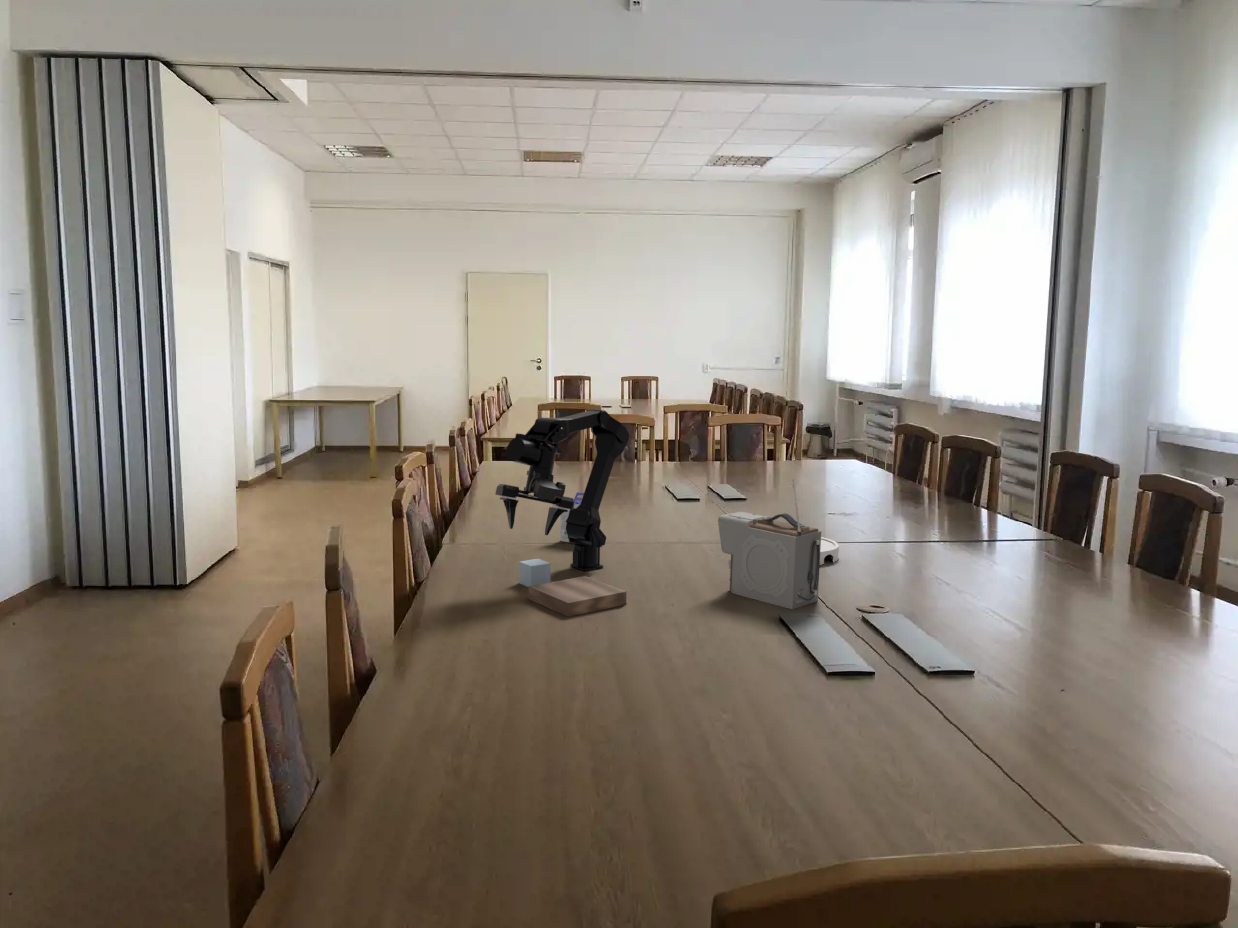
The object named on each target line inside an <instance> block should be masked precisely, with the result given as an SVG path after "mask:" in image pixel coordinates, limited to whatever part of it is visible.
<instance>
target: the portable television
mask: <svg viewBox="0 0 1238 928" xmlns="http://www.w3.org/2000/svg"><path fill="white" fill-rule="evenodd" d="M791 481H792V486H793V493H794V494H793V495H794V504H795V514H796V515H795V516H796V520H795V519H794V517H792V516H791V515H790V514H788V513H785V512H784V513H780V514H776V515H774V516H772V517H771V516H767V515H761V514H756V513H751V512H745V511H736V512H731V513H726V514H722V515H721V514H720V515H719V516H718V518H717V523H718V524H717V525H718V534H719V539H720V546H721V548H720V549H721V551H722V553H724V554H727V555H730V559H728V561H727V563H728V569H730V571H729V572H730V574H729V592H731V593H732V594H734V595H739V596H741V597H745V598H750V599H753V600H757V601H758V602H759V601H760V602H764V603H767V604H771V605H774V606H778V607H782V608H786V609H790V610H795V609H798V608H801V607H804V606H807V605H809V604H813V603H816V602H818V601H819V581H820V568H821V567H820V566H821V565H820V547H821V537H822V531H821V530H819V528H815V527H811V526H807V525H804V524H802V523H800V518H799V517H800V516H799V509H798V502H797V496H796V487H795V478H792V479H791ZM780 518H782V519H784V520H785V521H786V522H785V521H779V520H777V519H780Z"/></svg>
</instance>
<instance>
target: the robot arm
mask: <svg viewBox="0 0 1238 928" xmlns="http://www.w3.org/2000/svg"><path fill="white" fill-rule="evenodd" d="M587 429H590V432H591V433H592V435H594V437H595V439H594V447H595V450H596V456H595V457H594V458H595V459H594V462H593V463H592V464H593V465H592V468H591V471H590V474H589V478H588V480H587V482H586V486H585V489H584V492H583V493H584V495H583V496H582V497H581V498H582V501H581V504H580V505H579V506H578V507H577V508H574V504H575V502H574V497H569V496H565V491H566V486H567V485H566V483H565V482H562V481H557V482H554V478H555V477H554V474H553V472H554V467H555V466H554V465H555V462H556V456H557V455H562V454H563V451H562V448H560V446H559V443H560V442H562V441H564V440H566V439H568V438H569V436H570V435H571V434H573V433H576V432H579V431H583V430H587ZM629 433H630V432H628V428H627V427H626V426H625V425H623V424H622V423H621V422H620V421H619V420H617V419H615V418H613V416H611V415H610V414H609V413H608V411H606V410H605V409H599V408H597V409H595V408H591V409H589V410H587V411H583V412H579V413H575V414H572V415H571V414H570V415H567V416H563V417H538V418H536V419H535V420H534V423H533V425H532V426H531V427H530V429H528V431H527V432H526V433H525V434H523V433H518V432H517V433H515V437H514V438H512V440H510V441H509V443H508V444H507V446H506V447H505V449H506V450H505V452H506V453H505V454H506V457H507V459H508V460H509V461H510V462H514V463H517V464H520V465H521V464H522V465H525V466H529V469H528V470H527V471H526V476H527V479H526V483H525V487H523V490H521V489H520V487H519V486H516V485H510V484H505V483H499V484H498V485H497V486H496V489H495V495H496V496H501V497H499V500H501V501H503V504H504V507H505V511H506V516H507V521H508V526H509V527H508V528H509V529H511V530H512V529H513V528H514V524H515V517H516V510H517V506H518V503H519V500H518V499H517V498H521V499H527V500H531V501H536V502H542V503H546V504H551V505H552V506H549V508H548V511H547V518H546V522H545V523H546V524H545V528H544V536H549V534H550V532H551V530H552V529H553V527H554V525H555V523H556V522H557V520H558V519H559V518H560V517H561V514H562V513H563V512H568V510H566V509H570V511H569V516H568V518H567V520H566V523H567V524H566V531H567V535H568V539H569V542H568V543H569V544H573V550H572V563H570V564H569V565H570V567H572V568H575V569H578V570H581V571H584V572H585V571H591V570H595V569H601V568H604V565H603V564H601V548H602V547H603V546H605V545H606V542H607V541H606V540H607V536H606V535H605V533H604V532H603V531H602V530H601V528H600V527H601V523H602V520H601V516H600V511H599V510H600V507H601V503H602V501H603V497H604V495H605V491H606V487H607V486H608V485H607V484H608V482H609V479H610V475H611V472H612V470H613V467H614V462H615V460H616V459H617V458H618V457H620V455H622V453H623V452H625V449H626V446H627V444H628V442H629V438H630V434H629Z"/></svg>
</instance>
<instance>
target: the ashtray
mask: <svg viewBox="0 0 1238 928" xmlns="http://www.w3.org/2000/svg"><path fill="white" fill-rule="evenodd" d="M839 547H840V546H839V543H838V542H837V541H835V540H833V539H831V538H826V537H823V536H821V547H820V566H823V565H822V564H824V565H825V558H826V556H829V558H830V560H831V561H833V562H832V563H836V562H837V561H838V560H839V550H840V549H839ZM835 561H836V562H835Z"/></svg>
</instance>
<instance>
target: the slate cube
mask: <svg viewBox="0 0 1238 928" xmlns="http://www.w3.org/2000/svg"><path fill="white" fill-rule="evenodd" d="M550 582H551V563H550V562H549V561H546V560H543V559H541V558H533V559H526V560H521V561H518V584H520V585H521V586H525V587H527V588H529V586H533V585H538V584H544V583H550Z"/></svg>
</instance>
